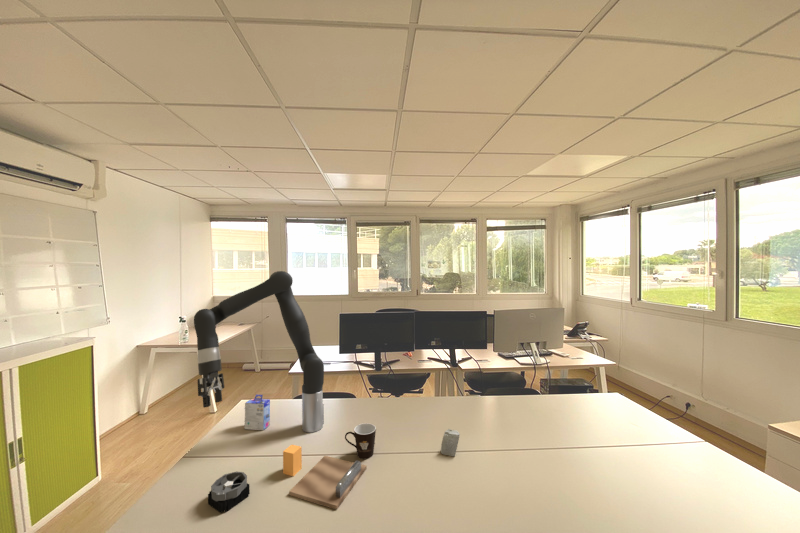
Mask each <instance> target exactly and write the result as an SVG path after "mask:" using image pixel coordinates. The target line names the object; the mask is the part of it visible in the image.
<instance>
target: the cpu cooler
mask: <svg viewBox="0 0 800 533" xmlns="http://www.w3.org/2000/svg"><path fill="white" fill-rule="evenodd" d="M210 489H211V490H210V491H209V492H208V494H207V505H209V506H210V507H211V508H213V509H215V510H216V511H217V512H219V513H220V514H223V513H224V512H225V513H227V512H229V511H230V510H231V509H233V508H235V507H236V506H237V505H238V504H240V503H241V502H243V501H245V500H246V499H248V497H249V495H250V494H251V493H250V490H251V489H250V483H248V475H247V474H246V473H245V472H243V471H234V472H230V473H229V472H228V473H225V474H223V475H222V476H220V477H219V478H218V479H216V480H215V481H214V482H213V483H212V484H211V485H210Z"/></svg>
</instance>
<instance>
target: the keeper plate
mask: <svg viewBox="0 0 800 533" xmlns="http://www.w3.org/2000/svg"><path fill="white" fill-rule="evenodd" d="M367 466H368V465H366V464H362V462H361V461H360V460H355V461H354V462H353V461H349V460H345V459H341V458H337V457H333V456H328V455H324V456H323V457H322V458H321V459H320V460H319V461H318V462H317V463H316V464H315V465H314V466H313V467H312V468H311V469H310V470H309V471H308V472H307V473H305V474H304V476H303V477H302V478H301V479H300V480H299V481H298V482H297V483H296V484H295V485H294V486H293V487H292V488H291V489H290V490H289V491H288V495H289V496H291V497H294V498H298V499H301V500H305V501H307V502H309V503H314V504H317V505H320V506H324V507H327V508H329V509H330V508H331V509H334V510H338V509H339V508H340V506H341V505H342V504H343V502H344V501H345V499H346V498H347V497H348V495H349V494H350V492H351V491H352V490H353V489H354V487H355V485H356V484H357V483H358V482H359V480H360V479H361V477H362V476H363V475H364V473H365V472H366V470H367Z"/></svg>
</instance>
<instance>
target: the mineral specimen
mask: <svg viewBox="0 0 800 533" xmlns="http://www.w3.org/2000/svg"><path fill="white" fill-rule="evenodd" d="M460 435H461V434H460V432H459V431H458V430H457V429H451V428H448V429H446V430H445V431H444V433H443V436H442V441H441V446H440V453H441V454H442V455H444V456H445V455H446V456H448V457H449V456H450V457H455V456H456V453H457V450H458V445H459V441H460V440H459V439H460Z"/></svg>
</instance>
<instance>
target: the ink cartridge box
mask: <svg viewBox="0 0 800 533" xmlns="http://www.w3.org/2000/svg"><path fill="white" fill-rule="evenodd" d="M270 415H271V399H268V398H267V399H266V398H263V394H255V397H254V398H251V399H249V400H248V401H246V402H245V403H244V430H254V431H255V430H256V431H257V430H258V431H264V430H265V429H267V428H268V427H270V425H271V418H270V417H271V416H270Z"/></svg>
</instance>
